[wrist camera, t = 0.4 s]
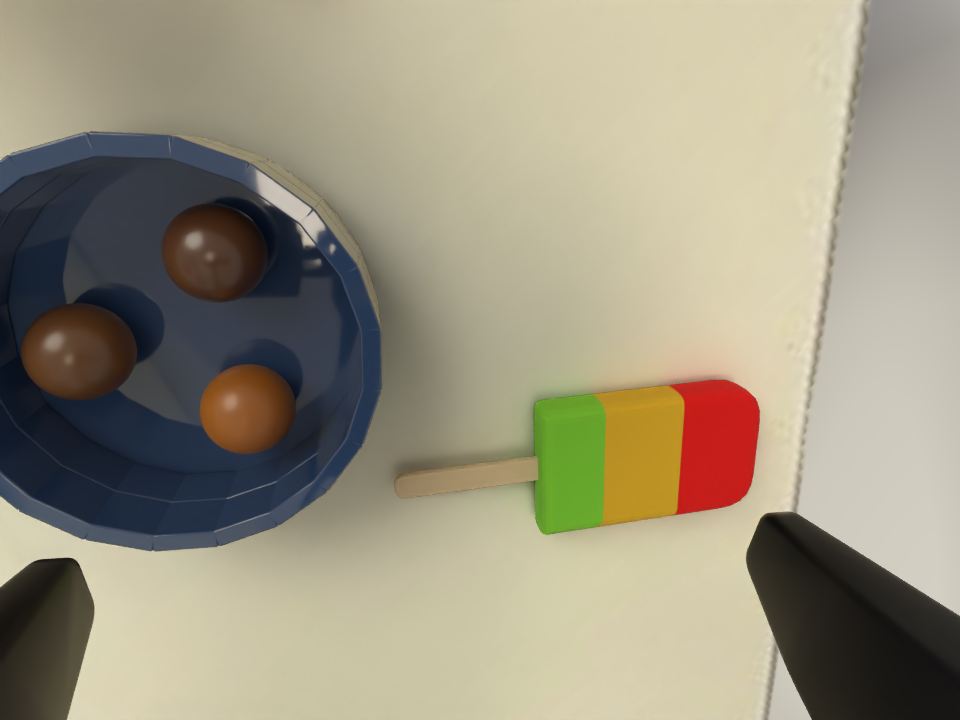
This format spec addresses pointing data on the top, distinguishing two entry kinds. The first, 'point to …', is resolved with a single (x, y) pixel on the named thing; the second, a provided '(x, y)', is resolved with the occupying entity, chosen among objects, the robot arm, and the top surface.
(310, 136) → the top surface
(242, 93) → the top surface
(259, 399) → the bead
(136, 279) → the bowl
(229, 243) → the bead
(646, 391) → the popsicle
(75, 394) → the bead
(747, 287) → the top surface
